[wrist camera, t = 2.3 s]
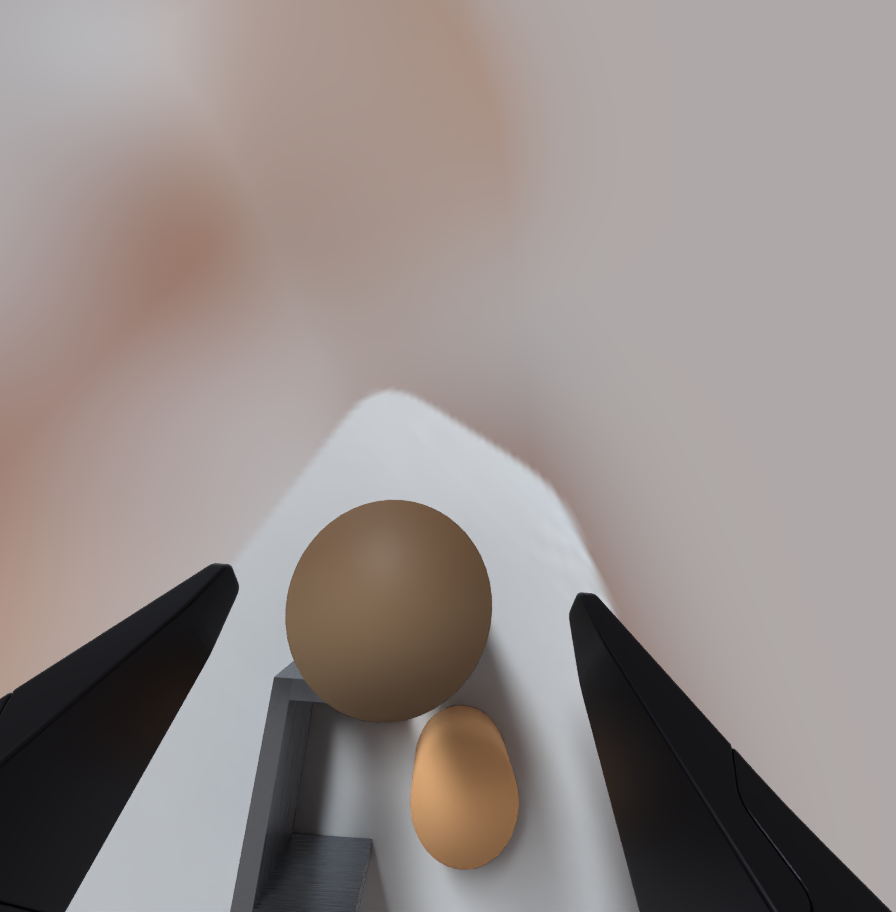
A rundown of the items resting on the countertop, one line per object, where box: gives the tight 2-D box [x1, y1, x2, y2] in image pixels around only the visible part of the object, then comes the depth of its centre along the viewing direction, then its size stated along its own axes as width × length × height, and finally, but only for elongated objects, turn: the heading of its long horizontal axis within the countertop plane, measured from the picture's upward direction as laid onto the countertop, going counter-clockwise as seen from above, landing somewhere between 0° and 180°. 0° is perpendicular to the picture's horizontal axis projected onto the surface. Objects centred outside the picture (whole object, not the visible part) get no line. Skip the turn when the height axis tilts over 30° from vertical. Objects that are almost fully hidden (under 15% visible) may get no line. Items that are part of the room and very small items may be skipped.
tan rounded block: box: [410, 705, 519, 869], centre depth 13 cm, size 4×4×2 cm
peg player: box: [286, 500, 492, 722], centre depth 11 cm, size 4×4×11 cm
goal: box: [230, 661, 372, 912], centre depth 13 cm, size 7×4×3 cm, turn 176°
